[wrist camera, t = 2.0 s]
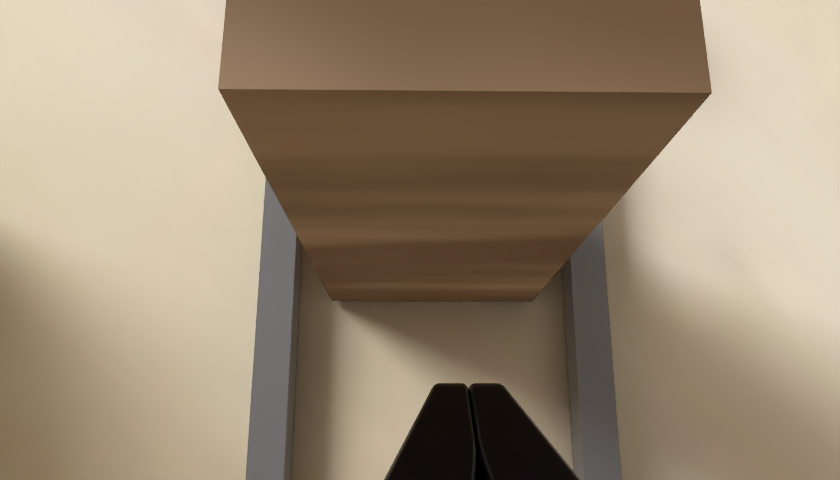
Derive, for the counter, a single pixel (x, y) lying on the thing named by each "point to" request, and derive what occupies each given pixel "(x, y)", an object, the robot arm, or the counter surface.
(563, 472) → the robot arm
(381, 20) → the brown wooden tall block
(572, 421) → the twin grey rails
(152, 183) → the counter surface
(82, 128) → the counter surface
